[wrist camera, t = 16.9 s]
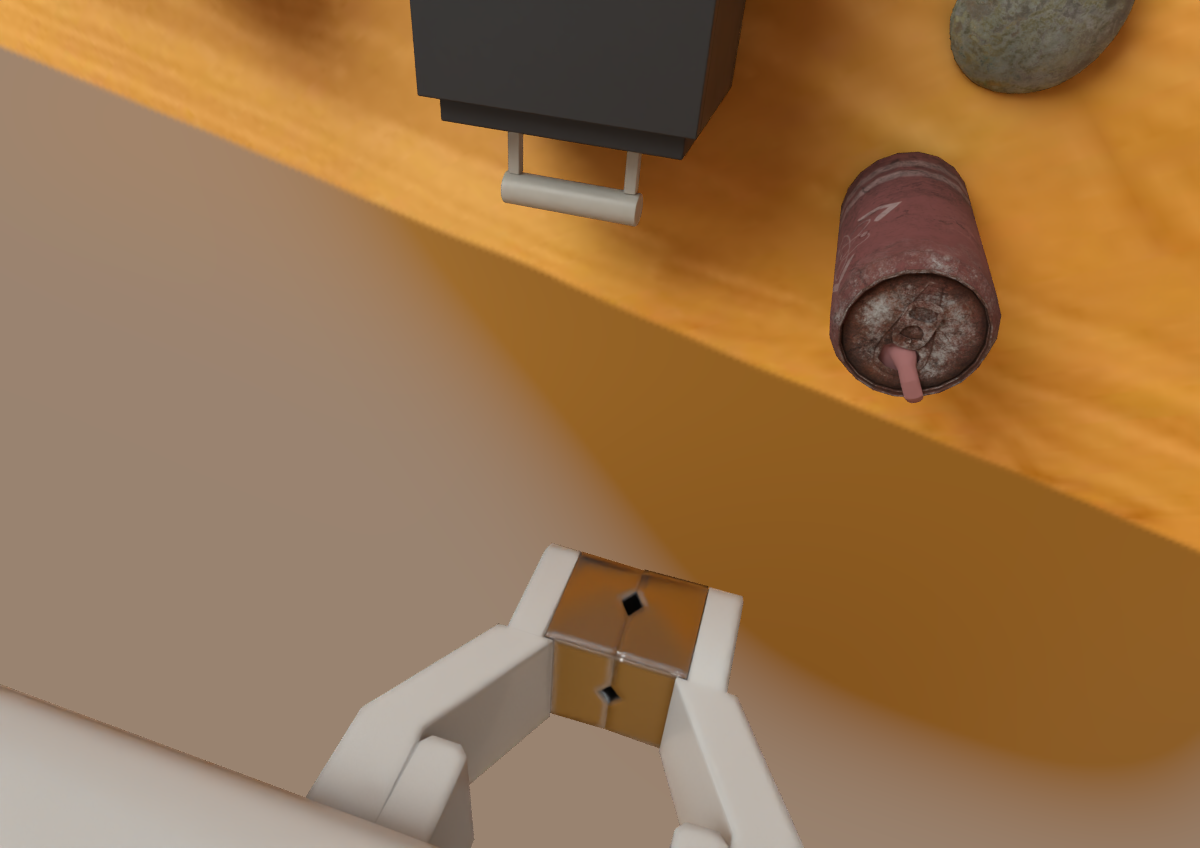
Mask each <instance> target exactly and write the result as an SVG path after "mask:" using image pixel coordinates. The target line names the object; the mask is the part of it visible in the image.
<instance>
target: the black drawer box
mask: <svg viewBox="0 0 1200 848" xmlns="http://www.w3.org/2000/svg"><path fill="white" fill-rule="evenodd" d="M745 2H746V0H410V7H411V19H412V31H413V43H414V55H415V68H416V80H417V92H418V95H419V96H424V97H430V98H436V99H442V100H449V101H455V102H461V103H468V104H474V105H480V106H486V107H493V108H499V109H505V110H512V111H518V112H524V113H530V114H537V115H543V116H549V117H555V118H562V119H568V120H574V121H581V122H587V123H593V124H599V125H606V126H612V127H618V128H624V129H631V130H637V131H643V132H650V133H656V134H662V135H668V136H675V137H681V138H687V139H693V140H695V139H697V137H698V136H699V134H700V133H701V131H702V130H703V128H704V127H705V125H706V124H707V122H708V121H709V119H710V118H711V116H712V115H713V113H714V112H715V110H716V109H717V107H718V106H719V104H720V103H721V102H722V100H723V99H724V97H725V96H726V94H727V93H728V91H729V89H730V88H731V86H732V80H733V74H734V68H735V62H736V56H737V50H738V44H739V38H740V32H741V26H742V20H743V14H744V8H745Z"/></svg>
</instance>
